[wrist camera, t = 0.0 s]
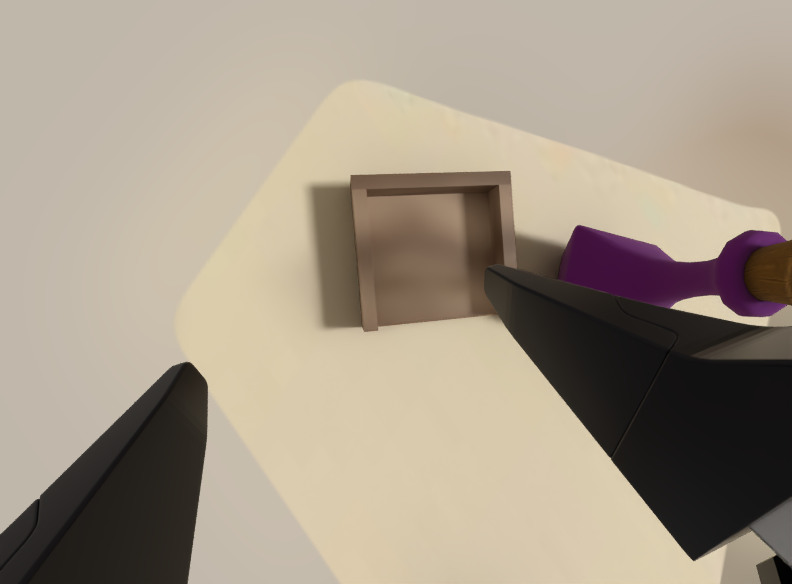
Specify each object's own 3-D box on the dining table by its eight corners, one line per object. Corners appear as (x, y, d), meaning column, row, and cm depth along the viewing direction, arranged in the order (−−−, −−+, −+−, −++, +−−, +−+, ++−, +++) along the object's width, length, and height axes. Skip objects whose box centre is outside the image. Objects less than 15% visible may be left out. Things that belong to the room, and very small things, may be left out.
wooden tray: (503, 312, 26) (520, 315, 24) (362, 327, 24) (364, 331, 22) (494, 182, 26) (510, 171, 23) (350, 186, 24) (350, 175, 21)
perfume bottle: (532, 316, 26) (911, 379, 9) (548, 231, 27) (959, 122, 9) (606, 331, 28) (1074, 415, 10) (622, 250, 28) (1114, 188, 10)
